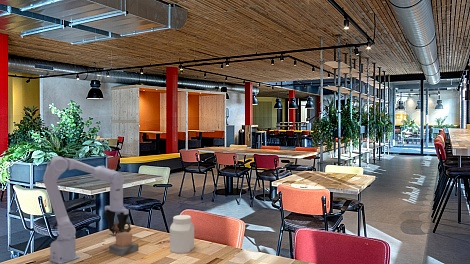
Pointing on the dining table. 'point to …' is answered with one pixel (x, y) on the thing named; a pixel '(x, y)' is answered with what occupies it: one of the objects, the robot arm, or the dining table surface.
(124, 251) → the grey base block
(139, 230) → the dining table surface
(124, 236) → the terracotta block
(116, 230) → the pottery mug
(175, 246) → the jar
